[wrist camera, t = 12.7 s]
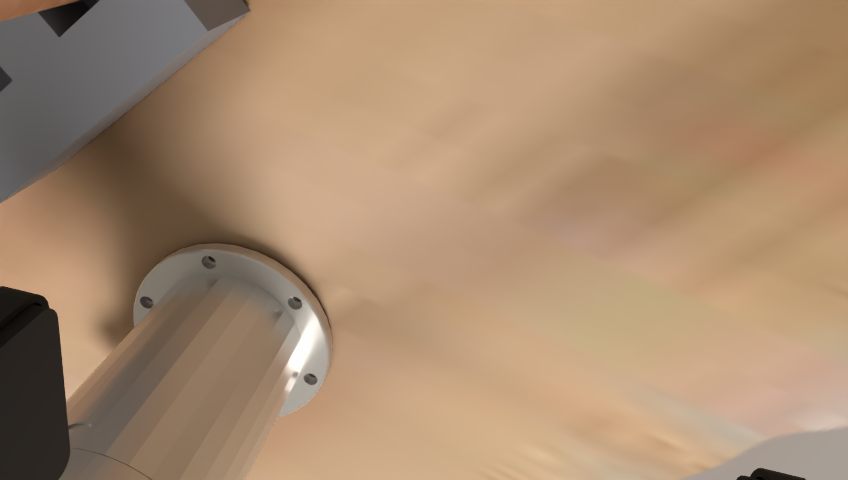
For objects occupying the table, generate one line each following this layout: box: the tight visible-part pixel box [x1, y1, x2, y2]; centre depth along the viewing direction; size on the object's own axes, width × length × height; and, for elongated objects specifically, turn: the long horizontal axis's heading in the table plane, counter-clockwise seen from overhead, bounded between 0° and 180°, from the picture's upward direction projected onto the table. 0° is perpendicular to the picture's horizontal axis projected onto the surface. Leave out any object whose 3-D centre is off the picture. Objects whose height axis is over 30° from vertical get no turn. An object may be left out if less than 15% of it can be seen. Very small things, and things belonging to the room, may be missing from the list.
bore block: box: [0, 0, 250, 203], centre depth 36 cm, size 16×12×5 cm
